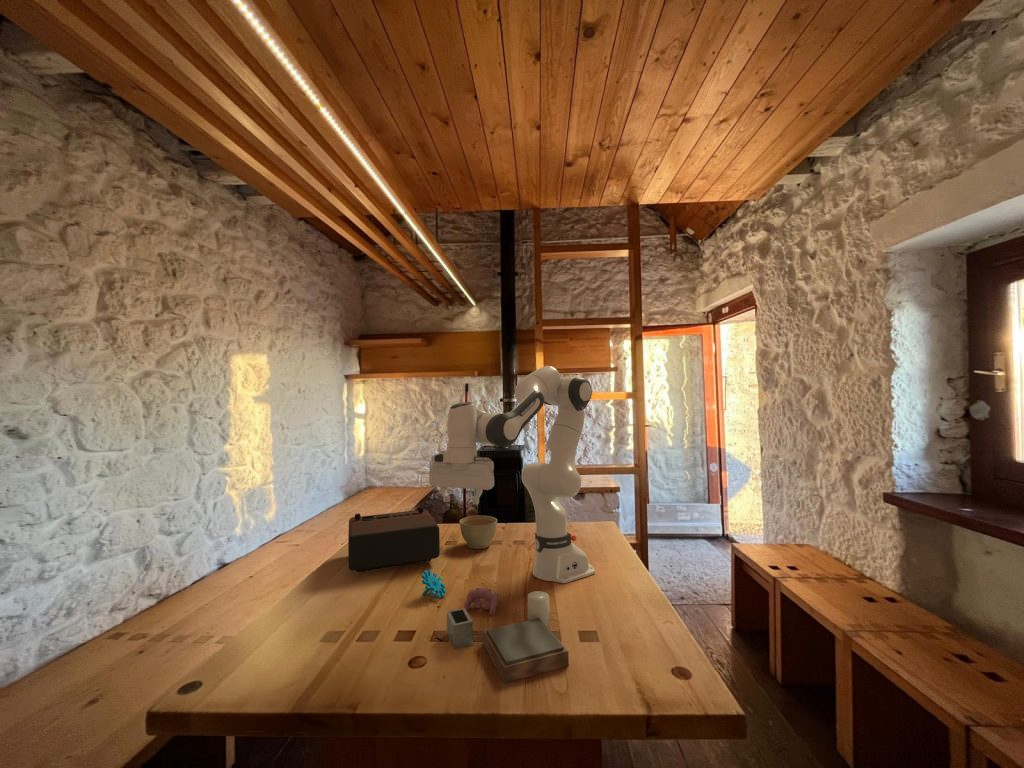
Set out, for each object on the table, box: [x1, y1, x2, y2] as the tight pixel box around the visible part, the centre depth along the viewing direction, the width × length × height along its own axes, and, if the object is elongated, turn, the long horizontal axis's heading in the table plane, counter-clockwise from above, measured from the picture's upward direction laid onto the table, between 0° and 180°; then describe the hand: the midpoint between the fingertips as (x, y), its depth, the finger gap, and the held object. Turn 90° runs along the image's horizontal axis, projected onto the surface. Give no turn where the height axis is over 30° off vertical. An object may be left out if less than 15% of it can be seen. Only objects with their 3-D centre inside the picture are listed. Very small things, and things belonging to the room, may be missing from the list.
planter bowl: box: [459, 515, 498, 550], centre depth 183 cm, size 16×16×11 cm
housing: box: [446, 607, 474, 650], centre depth 112 cm, size 5×8×6 cm, turn 21°
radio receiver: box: [347, 506, 441, 573], centre depth 169 cm, size 35×27×18 cm
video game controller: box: [463, 587, 499, 616], centre depth 127 cm, size 10×5×7 cm, turn 71°
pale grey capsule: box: [527, 590, 551, 629], centre depth 118 cm, size 6×6×8 cm
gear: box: [420, 569, 447, 599], centre depth 137 cm, size 11×6×10 cm
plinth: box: [482, 618, 570, 684], centre depth 104 cm, size 16×16×4 cm
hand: (461, 502), depth 126 cm, fingers open, 8 cm apart
